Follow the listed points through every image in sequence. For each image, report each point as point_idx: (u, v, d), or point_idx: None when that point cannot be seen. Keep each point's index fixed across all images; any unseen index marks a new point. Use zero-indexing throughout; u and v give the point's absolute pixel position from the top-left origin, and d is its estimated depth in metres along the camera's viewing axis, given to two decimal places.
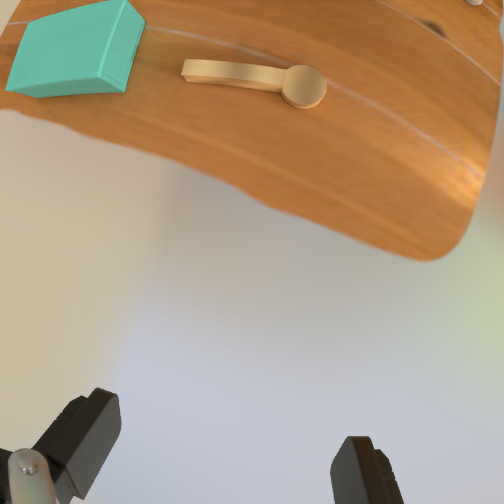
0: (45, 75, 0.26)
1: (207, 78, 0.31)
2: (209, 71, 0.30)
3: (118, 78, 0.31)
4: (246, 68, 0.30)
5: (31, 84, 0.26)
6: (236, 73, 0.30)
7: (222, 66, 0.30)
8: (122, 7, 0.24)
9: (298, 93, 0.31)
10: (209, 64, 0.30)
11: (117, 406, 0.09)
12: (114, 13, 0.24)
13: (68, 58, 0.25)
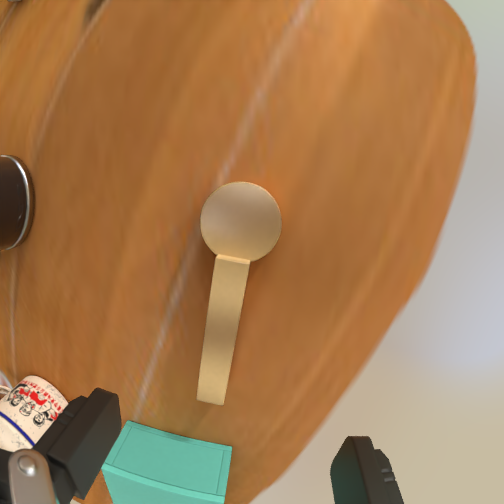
0: None
1: (229, 371, 0.22)
2: (220, 372, 0.21)
3: (217, 462, 0.24)
4: (215, 322, 0.20)
5: None
6: (225, 336, 0.20)
7: (212, 355, 0.21)
8: (116, 471, 0.20)
9: (259, 233, 0.20)
10: (207, 372, 0.21)
11: (117, 406, 0.09)
12: (127, 480, 0.19)
13: None
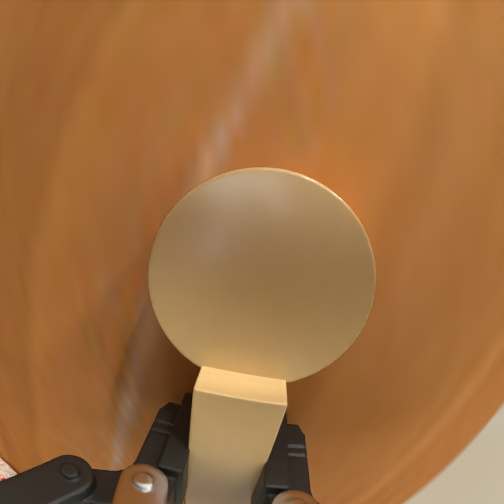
0: None
1: None
2: None
3: None
4: (205, 488, 0.07)
5: None
6: None
7: None
8: None
9: (315, 318, 0.07)
10: None
11: None
12: None
13: None
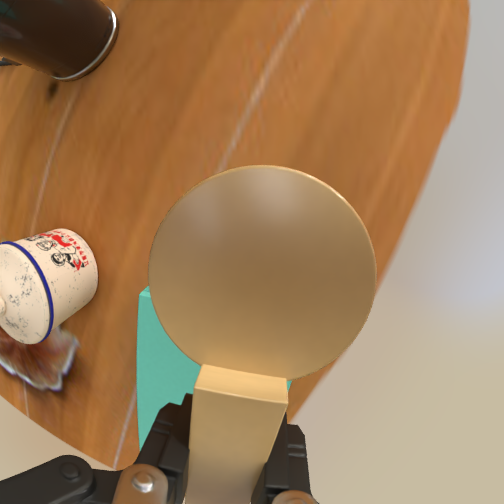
0: None
1: None
2: None
3: None
4: (205, 487, 0.07)
5: None
6: (228, 503, 0.07)
7: None
8: None
9: (316, 315, 0.07)
10: None
11: None
12: None
13: None
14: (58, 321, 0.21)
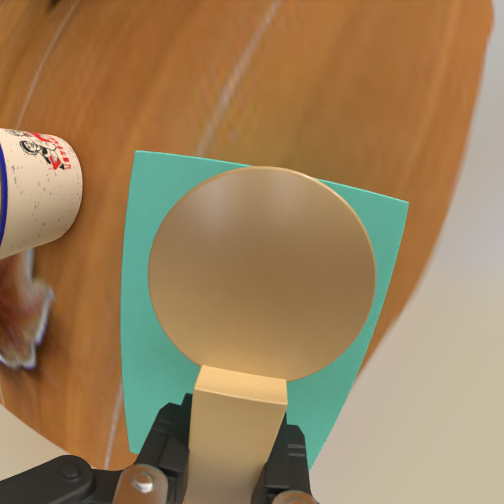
0: (332, 386, 0.13)
1: None
2: None
3: None
4: (205, 487, 0.07)
5: (333, 422, 0.14)
6: (228, 503, 0.07)
7: None
8: (170, 154, 0.12)
9: (316, 317, 0.07)
10: None
11: None
12: (191, 171, 0.11)
13: None
14: (16, 234, 0.13)
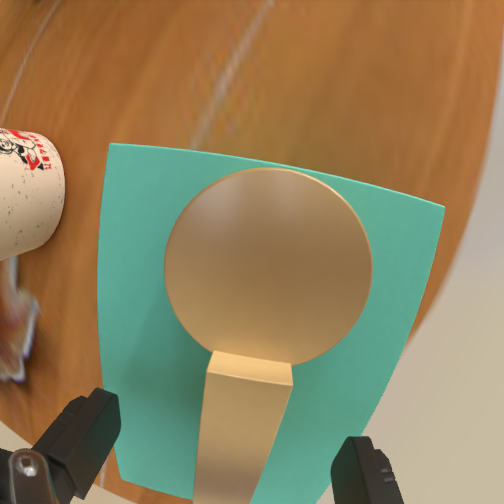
0: (348, 420, 0.11)
1: None
2: None
3: None
4: (213, 472, 0.08)
5: None
6: (235, 488, 0.08)
7: None
8: (151, 146, 0.09)
9: (318, 304, 0.07)
10: None
11: (117, 406, 0.09)
12: (176, 166, 0.09)
13: None
14: None
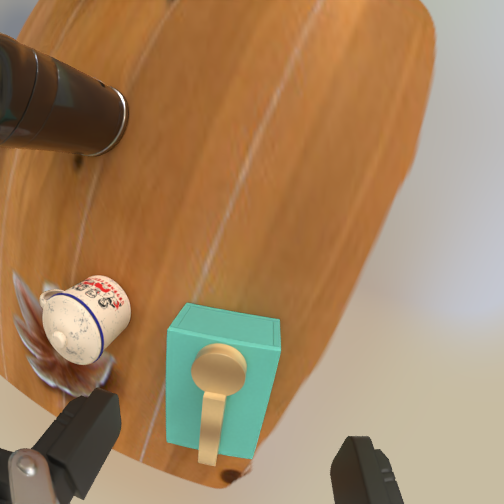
0: (255, 414, 0.31)
1: (218, 448, 0.30)
2: (211, 450, 0.29)
3: (269, 327, 0.34)
4: (206, 427, 0.28)
5: (259, 429, 0.31)
6: (213, 434, 0.28)
7: (205, 442, 0.29)
8: (182, 331, 0.29)
9: (231, 381, 0.28)
10: (203, 450, 0.29)
11: (117, 406, 0.09)
12: (191, 339, 0.29)
13: (243, 389, 0.30)
14: (105, 347, 0.31)
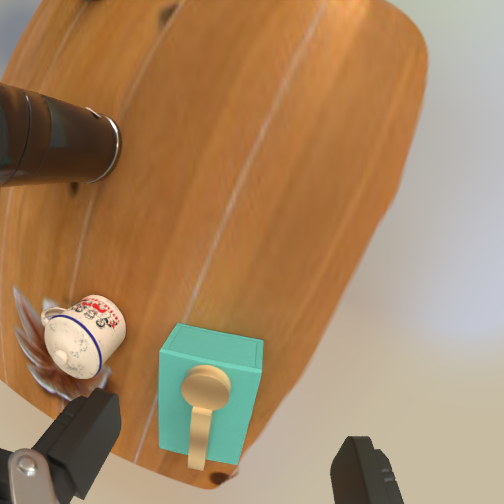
0: (239, 425, 0.33)
1: None
2: (200, 457, 0.31)
3: (253, 348, 0.36)
4: (194, 437, 0.30)
5: (243, 439, 0.34)
6: (201, 443, 0.31)
7: (194, 450, 0.31)
8: (172, 352, 0.32)
9: (216, 399, 0.30)
10: (192, 456, 0.31)
11: (117, 406, 0.09)
12: (181, 360, 0.31)
13: (228, 404, 0.32)
14: (103, 363, 0.33)
